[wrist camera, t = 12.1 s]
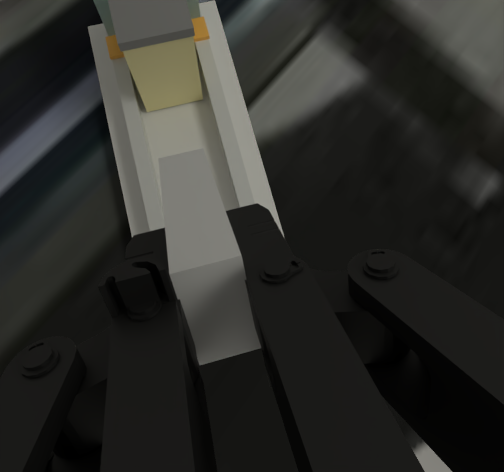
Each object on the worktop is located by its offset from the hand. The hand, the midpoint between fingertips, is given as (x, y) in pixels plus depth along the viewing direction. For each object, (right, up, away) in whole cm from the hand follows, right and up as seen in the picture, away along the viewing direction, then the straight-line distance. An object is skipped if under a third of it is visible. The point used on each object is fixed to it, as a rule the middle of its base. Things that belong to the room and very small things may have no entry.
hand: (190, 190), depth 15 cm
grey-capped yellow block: (-5, +12, +24) cm, 27 cm away
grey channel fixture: (-4, +8, +25) cm, 26 cm away
